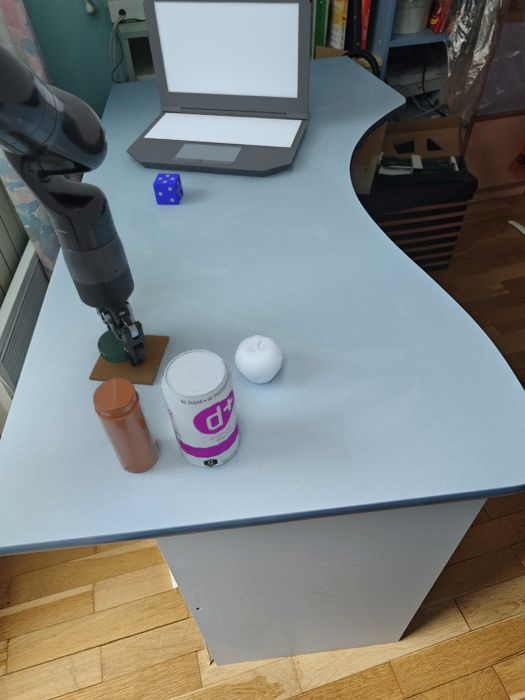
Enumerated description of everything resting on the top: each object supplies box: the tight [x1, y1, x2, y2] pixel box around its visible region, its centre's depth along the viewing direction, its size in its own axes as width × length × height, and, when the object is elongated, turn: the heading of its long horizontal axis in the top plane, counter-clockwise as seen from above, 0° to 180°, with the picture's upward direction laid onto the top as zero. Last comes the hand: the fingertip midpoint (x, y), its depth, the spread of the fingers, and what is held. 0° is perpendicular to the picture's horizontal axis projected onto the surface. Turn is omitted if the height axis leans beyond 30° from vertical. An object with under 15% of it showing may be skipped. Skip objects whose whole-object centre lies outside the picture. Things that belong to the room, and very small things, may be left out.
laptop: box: [125, 0, 313, 178], centre depth 117 cm, size 43×31×34 cm
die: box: [152, 172, 184, 206], centre depth 110 cm, size 5×5×5 cm
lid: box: [97, 327, 129, 363], centre depth 74 cm, size 6×6×2 cm
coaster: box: [88, 334, 170, 386], centre depth 77 cm, size 10×10×1 cm
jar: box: [92, 378, 160, 474], centre depth 60 cm, size 5×5×14 cm
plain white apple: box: [234, 334, 283, 385], centre depth 71 cm, size 7×7×8 cm
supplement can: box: [160, 349, 241, 469], centre depth 61 cm, size 8×8×15 cm
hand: (128, 351), depth 76 cm, fingers closed on lid, 6 cm apart
